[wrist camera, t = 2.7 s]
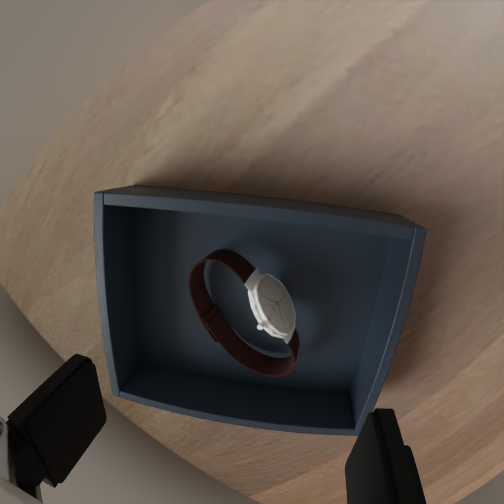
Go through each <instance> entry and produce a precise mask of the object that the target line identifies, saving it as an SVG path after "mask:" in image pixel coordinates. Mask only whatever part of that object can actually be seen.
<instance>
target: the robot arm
mask: <svg viewBox="0 0 504 504" xmlns="http://www.w3.org/2000/svg"><path fill="white" fill-rule="evenodd" d="M8 419H9V420H8V421H7V422H5V420H4V419H3V418H2V417H0V504H44V503H43V502H42V496H41V490H40V483H41V482H42V481H43V482H45V483H47V484H49V485H50V486H52V487H54V488H55V487H56V486H57V484H58V483H62V482H63V481H64V480H65V479H66V477H67V476H68V475H69V473H70V472H71V470H72V469H73V468H74V466H75V465H76V463H77V462H78V460H79V459H80V458H81V456H82V455H83V454H84V452H85V451H86V449H87V448H88V447H89V445H90V444H91V442H92V441H93V439H94V438H95V437H96V435H97V434H98V433H99V431H100V430H101V429H102V427H103V426H104V424H105V422H106V412H105V408H104V404H103V400H102V395H101V391H100V386H99V382H98V377H97V372H96V367H95V364H93V363H92V360H91V359H90V358H88V357H85V356H82V355H79V354H75V355H73V356H72V357H71V358H70V359H69V360H68V361H67V362H65V363H64V364H63V365H62V366H61V367H60V368H59V369H58V370H57V371H56V372H54V373H53V374H52V375H51V376H50V377H49V378H48V379H47V380H46V381H45V382H44V383H43V384H42V385H40V386H39V387H38V388H37V389H36V390H35V391H34V392H33V393H32V394H31V395H30V396H29V397H28V398H27V399H26V400H25V401H24V402H22V404H20V405H19V406H18V407H17V408H16V409H15V410H14V411H13V412H12V413H11V414H10V415H9V416H8ZM345 476H346V489H347V504H426V500H425V496H424V493H423V489H422V485H421V481H420V478H419V474H418V470H417V467H416V463H415V460H414V457H413V453H412V450H411V448H410V447H409V446H408V445H404V443H403V439H402V436H401V432H400V429H399V426H398V423H397V419H396V416H395V413H394V410H393V409H381V408H377V409H375V410H374V411H373V413H368V415H367V418H366V420H365V422H364V425H363V427H362V429H361V431H360V434H359V436H358V438H357V440H356V442H355V445H354V447H353V449H352V451H351V453H350V455H349V457H348V459H347V462H346V465H345Z"/></svg>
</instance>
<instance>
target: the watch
mask: <svg viewBox="0 0 504 504" xmlns="http://www.w3.org/2000/svg"><path fill="white" fill-rule="evenodd" d="M207 261H216V262H219V263H221V264H223V265H225V266H227V267H228V268H230V269H231V270H232V271H233V272H234V273H235V274H237V275H238V277H239V278H240V279H241V280H242V282H243V283H244V285H245V286H246V287H247V289H248V296H249V301H250V305H251V309H252V311H253V313H254V315H255V317H256V319H257V321H258V322H259V324H258V325H257V329H259V330H262V329H264V330H265V331H266V332H268V333H269V334H270V335H271V336H274V337H278V338H283V339H284V341H285V342H286V344H287V345H288V346H289V348H290V350H291V353H292V355H291V356H288V357H285V358H276V357H271V356H268V355H265V354H262V353H260V352H258V351H256V350H254V349H253V348H251V347H250V346H249V345H247V344H246V343H245V342H244V341H243V340H242V339H241V338H240V337H239V336H237V334H236V333H235V332H234V330H233V329H232V328H231V326H230V325H229V324H228V323H227V321H226V320H225V319H224V317H223V315H222V313H221V312H220V309H219V308H218V306H217V304H214V303H213V301H212V299H211V297H210V294H209V292H208V290H207V287H206V284H205V280H204V268H205V264H206V262H207ZM189 292H190V295H191V298H192V301H193V304H194V307H195V309H196V311H197V313H198V316H199V318H200V320H201V322H202V323H203V327H204V329H205V328H206V330H207V331H208V333H209V334H210V336H211V337H212V339H213V340H214V341H215V342H219V343H220V345H221V346H222V347H223V348H224V350H225V351H226V352H227V353H228V354H229V355H230V356H231V357H232V358H234V359H235V360H236V361H237V362H239V363H240V364H241V365H243V366H244V367H246V368H248V369H249V370H251V371H253V372H256V373H258V374H261V375H264V376H269V377H283V376H286V375H288V374H289V373H290V372H291V371H292V370H293V369H294V366H295V363H296V359H297V355H298V350H299V345H300V341H299V335H298V332H297V330H296V328H295V325H296V324H295V320H296V314H295V310H294V306H293V303H292V300H291V297H290V295H289V294H288V292H287V290H286V289H285V287H284V285H283V284H282V283H281V282H280V281H279V280H278V279H276V278H275V277H274V276H272V275H269V274H267V273H266V274H264V275H263V274H260V272H259V270H258V268H256V269H255V268H254V267H253V265H252V264H251V263H250V262H249V261H247V260H246V259H245V258H244V257H243V256H241V255H240V254H238V253H236V252H234V251H232V250H228V249H218V250H215V251H213V252H212V253H210V254H209V255H207V256H206V257H204V258H203V259H201V260H200V261H198V262H197V263H196V264H195V265H194V267H193V268H192V270H191V272H190V276H189Z"/></svg>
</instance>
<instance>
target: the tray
mask: <svg viewBox="0 0 504 504" xmlns="http://www.w3.org/2000/svg"><path fill="white" fill-rule="evenodd" d="M425 236H426V229H425V228H424V227H422V226H420V225H418V224H416V223H414V222H412V221H410V220H408V219H406V218H404V217H402V216H400V215H396V214H390V213H383V212H377V211H371V210H364V209H357V208H351V207H344V206H337V205H329V204H322V203H314V202H307V201H299V200H290V199H282V198H273V197H264V196H255V195H245V194H235V193H225V192H213V191H202V190H190V189H176V188H162V187H146V186H126V187H120V188H114V189H109V190H103V191H98V192H95V193H94V239H95V263H96V278H97V291H98V302H99V311H100V320H101V328H102V336H103V343H104V350H105V356H106V362H107V368H108V374H109V379H110V384H111V389H112V394H113V395H114V396H117V397H121V398H124V399H127V400H130V401H134V402H137V403H141V404H144V405H148V406H151V407H155V408H159V409H163V410H167V411H171V412H175V413H179V414H183V415H188V416H192V417H197V418H202V419H207V420H212V421H217V422H222V423H228V424H234V425H240V426H246V427H253V428H260V429H268V430H276V431H285V432H296V433H308V434H322V435H345V436H352V435H353V436H359V434H360V431H361V429H362V427H363V425H364V422H365V420H366V418H367V415H368V413H372V411H373V409H374V407H375V404H376V402H377V399H378V397H379V394H380V392H381V389H382V387H383V384H384V381H385V379H386V376H387V373H388V370H389V368H390V365H391V362H392V359H393V356H394V353H395V350H396V347H397V344H398V341H399V338H400V335H401V332H402V329H403V325H404V322H405V319H406V315H407V312H408V308H409V304H410V301H411V297H412V293H413V289H414V285H415V281H416V277H417V273H418V269H419V265H420V260H421V255H422V251H423V246H424V241H425ZM218 249H228V250H232V251H234V252H236V253H238V254H240V255H241V256H243V257H244V258H245V259H246V260H247V261H249V262H250V263H251V264H252V265H253V267H254V268H255V269H256V268H258V270H259V272H260V274H263V275H264V274H266V273H267V274H269V275H272V276H274V277H275V278H276V279H278V280H279V281H280V282H281V283H282V284H283V285H284V287H285V289H286V290H287V292H288V294H289V295H290V297H291V300H292V303H293V306H294V310H295V314H296V320H295V324H296V325H295V328H296V330H297V332H298V335H299V341H300V345H299V350H298V355H297V359H296V363H295V366H294V369H293V370H292V371H291V372H290V373H289V374H288V375H286V376H283V377H269V376H264V375H261V374H258V373H256V372H253V371H251V370H249V369H248V368H246V367H244V366H243V365H241V364H240V363H239V362H237V361H236V360H235V359H234V358H232V357H231V356H230V355H229V354H228V353H227V352H226V351H225V350H224V348H223V347H222V346H221V345H220V343H219V342H215V341H214V340H213V339H212V337H211V336H210V334H209V333H208V331H207V330H206V328H205V329H204V327H203V323H202V322H201V320H200V318H199V316H198V313H197V311H196V309H195V307H194V304H193V301H192V298H191V295H190V292H189V276H190V272H191V270H192V268H193V267H194V265H195V264H196V263H197V262H198V261H200V260H201V259H203V258H204V257H206V256H207V255H209V254H210V253H212V252H213V251H215V250H218ZM204 280H205V284H206V287H207V290H208V292H209V294H210V297H211V299H212V301H213V303H214V304H217V306H218V308H219V309H220V312H221V313H222V315H223V317H224V319H225V320H226V321H227V323H228V324H229V325H230V326H231V328H232V329H233V330H234V332H235V333H236V334H237V336H239V337H240V338H241V339H242V340H243V341H244V342H245V343H246V344H247V345H249V346H250V347H251V348H253V349H254V350H256V351H258V352H260V353H262V354H265V355H268V356H271V357H276V358H285V357H288V356H291V355H292V353H291V350H290V348H289V346H288V345H287V344H286V342H285V341H284V339H283V338H278V337H274V336H271V335H270V334H269V333H268V332H266V331H265V330H264V329H262V330H259V329H257V325H258V324H259V322H258V321H257V319H256V317H255V315H254V313H253V311H252V309H251V305H250V301H249V296H248V289H247V287H246V286H245V285H244V283H243V282H242V280H241V279H240V278H239V277H238V275H237V274H235V273H234V272H233V271H232V270H231V269H230V268H228V267H227V266H225V265H223V264H221V263H219V262H216V261H207V262H206V264H205V268H204Z"/></svg>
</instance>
